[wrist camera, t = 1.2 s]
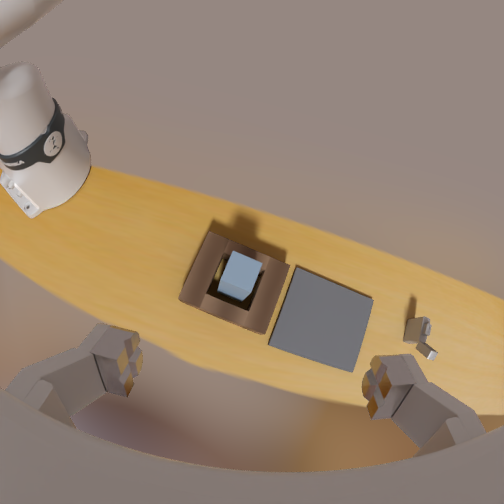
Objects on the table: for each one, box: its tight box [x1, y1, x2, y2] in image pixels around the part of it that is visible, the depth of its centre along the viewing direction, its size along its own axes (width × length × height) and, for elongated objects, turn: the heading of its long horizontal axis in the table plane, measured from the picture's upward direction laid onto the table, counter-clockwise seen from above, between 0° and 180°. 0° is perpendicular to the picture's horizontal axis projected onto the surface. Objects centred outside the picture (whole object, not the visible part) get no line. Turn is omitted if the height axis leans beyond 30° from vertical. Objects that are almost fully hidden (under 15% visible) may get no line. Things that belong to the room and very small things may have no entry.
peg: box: [217, 251, 262, 302], centre depth 35 cm, size 4×4×9 cm
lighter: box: [403, 317, 438, 360], centre depth 38 cm, size 7×2×8 cm, turn 159°
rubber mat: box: [268, 267, 374, 372], centre depth 40 cm, size 14×12×1 cm
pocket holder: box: [178, 231, 290, 334], centre depth 38 cm, size 12×10×3 cm
